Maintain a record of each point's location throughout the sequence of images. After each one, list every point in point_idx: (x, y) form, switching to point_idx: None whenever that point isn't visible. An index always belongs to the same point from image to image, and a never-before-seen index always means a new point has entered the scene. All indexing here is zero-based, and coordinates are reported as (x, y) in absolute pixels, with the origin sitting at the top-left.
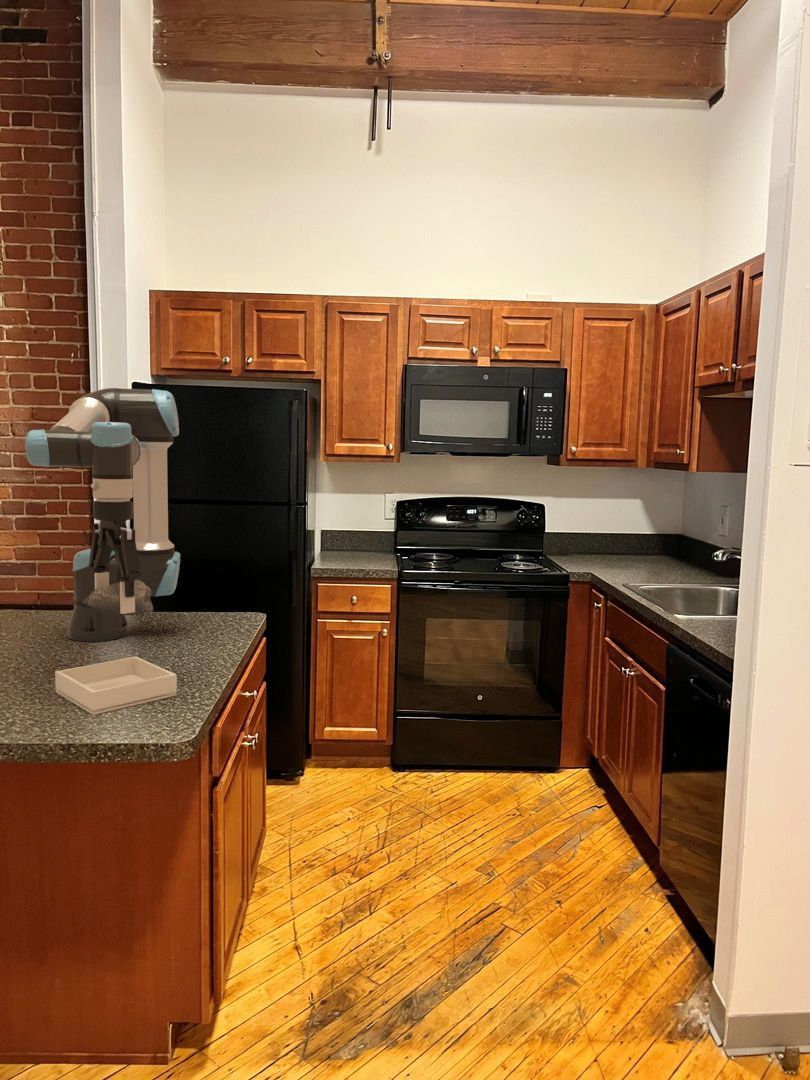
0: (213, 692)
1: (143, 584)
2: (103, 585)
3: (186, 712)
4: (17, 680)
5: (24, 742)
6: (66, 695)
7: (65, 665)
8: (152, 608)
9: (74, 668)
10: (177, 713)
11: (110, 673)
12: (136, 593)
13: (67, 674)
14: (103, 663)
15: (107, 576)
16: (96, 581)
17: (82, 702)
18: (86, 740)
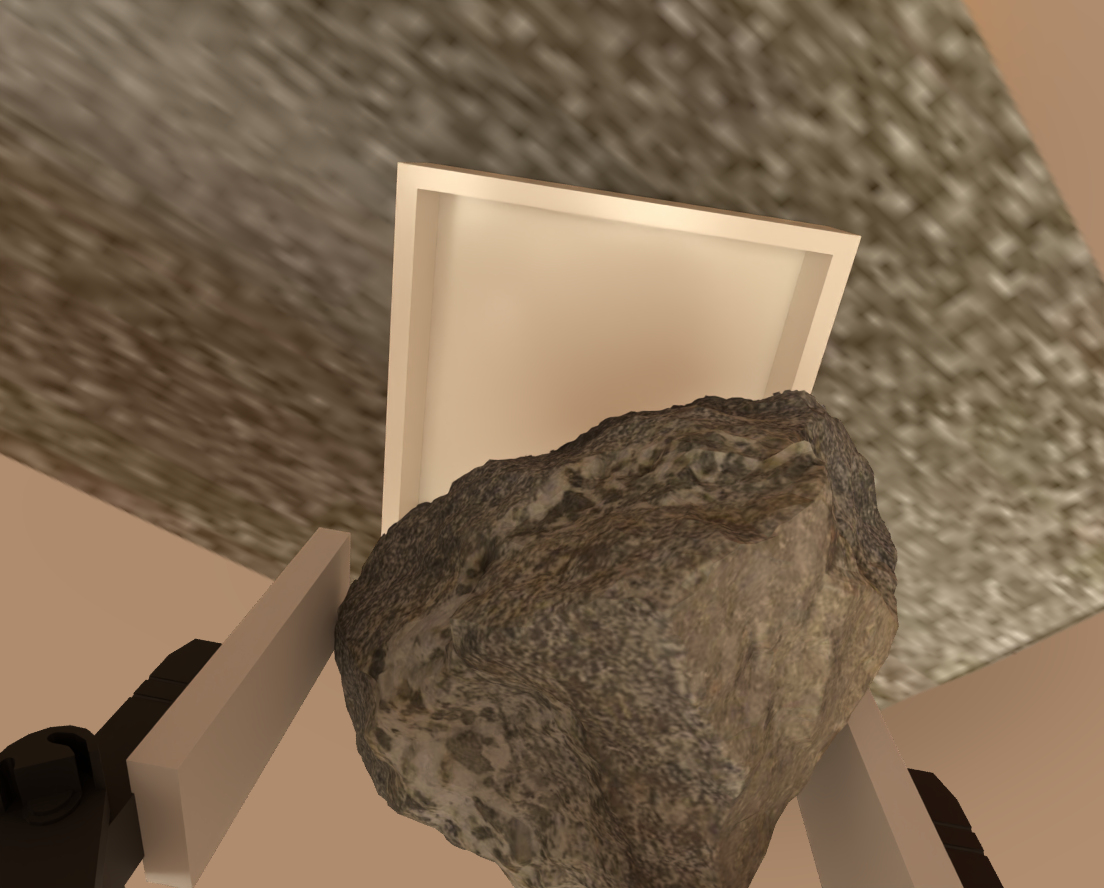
0: (962, 61)
1: (761, 571)
2: (269, 692)
3: (1026, 346)
4: (184, 513)
5: None
6: None
7: (77, 290)
8: (839, 428)
9: (392, 484)
10: (998, 377)
11: (424, 313)
12: (859, 701)
13: (404, 507)
14: (406, 360)
15: (211, 735)
16: (246, 795)
17: None
18: (894, 687)
